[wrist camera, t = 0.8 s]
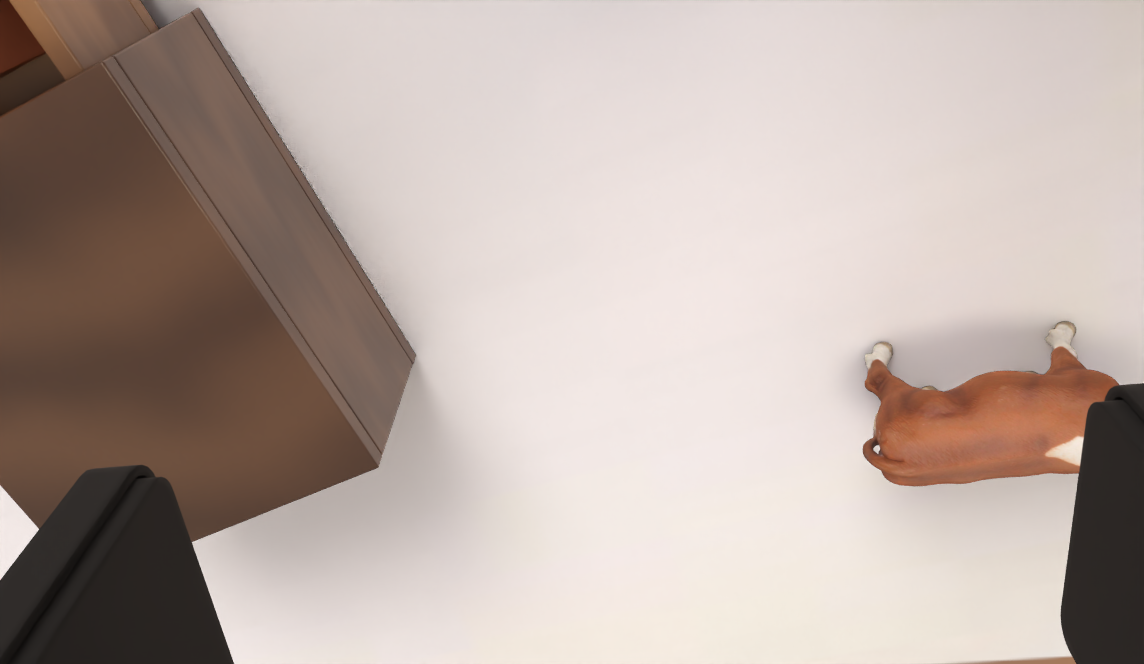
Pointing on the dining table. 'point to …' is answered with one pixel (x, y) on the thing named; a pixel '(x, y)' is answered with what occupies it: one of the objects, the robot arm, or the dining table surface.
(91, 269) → the cabinet
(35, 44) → the block
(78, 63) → the drawer
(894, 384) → the bull figurine
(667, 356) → the dining table surface
